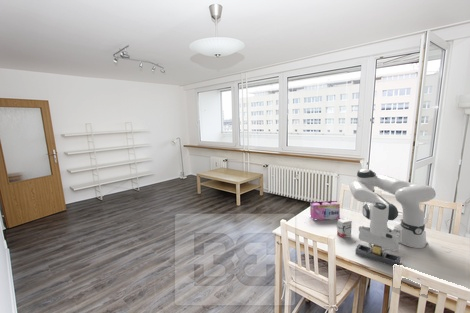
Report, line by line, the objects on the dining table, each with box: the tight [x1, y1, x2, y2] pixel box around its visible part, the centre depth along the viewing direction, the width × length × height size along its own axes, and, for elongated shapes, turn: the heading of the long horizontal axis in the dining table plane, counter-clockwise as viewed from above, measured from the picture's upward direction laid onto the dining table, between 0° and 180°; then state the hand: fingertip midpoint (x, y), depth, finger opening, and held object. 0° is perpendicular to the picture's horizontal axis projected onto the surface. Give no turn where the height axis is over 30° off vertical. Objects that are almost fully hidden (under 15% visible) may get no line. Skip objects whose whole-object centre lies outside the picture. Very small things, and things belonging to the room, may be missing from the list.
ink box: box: [336, 217, 353, 238], centre depth 161 cm, size 9×5×12 cm, turn 106°
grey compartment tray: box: [355, 243, 402, 267], centre depth 134 cm, size 22×7×4 cm, turn 46°
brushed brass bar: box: [372, 244, 383, 256], centre depth 133 cm, size 4×4×6 cm
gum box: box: [309, 200, 341, 220], centre depth 191 cm, size 24×8×14 cm, turn 89°
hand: (377, 251), depth 134 cm, fingers closed on brushed brass bar, 4 cm apart
